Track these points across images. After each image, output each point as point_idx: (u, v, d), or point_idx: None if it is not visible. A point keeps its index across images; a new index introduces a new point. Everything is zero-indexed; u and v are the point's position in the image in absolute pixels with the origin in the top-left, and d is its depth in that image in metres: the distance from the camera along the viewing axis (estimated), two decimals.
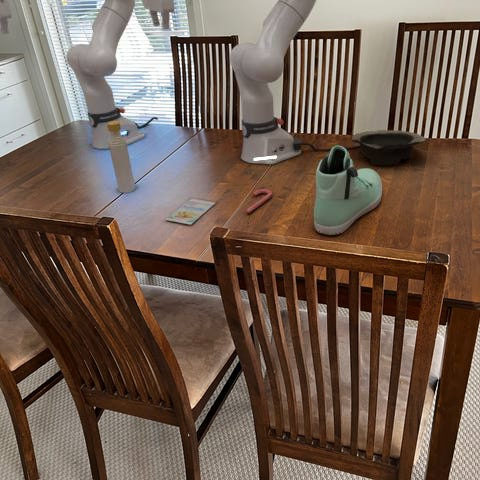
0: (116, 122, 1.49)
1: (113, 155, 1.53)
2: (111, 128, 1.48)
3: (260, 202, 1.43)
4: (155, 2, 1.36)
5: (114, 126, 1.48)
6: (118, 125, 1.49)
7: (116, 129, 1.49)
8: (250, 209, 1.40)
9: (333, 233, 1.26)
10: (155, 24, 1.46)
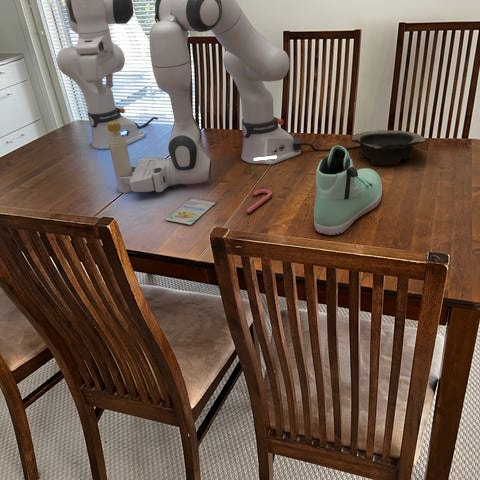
0: (116, 122, 1.50)
1: (113, 155, 1.53)
2: (111, 128, 1.49)
3: (260, 202, 1.43)
4: None
5: (114, 126, 1.48)
6: (118, 125, 1.49)
7: (116, 129, 1.49)
8: (250, 209, 1.40)
9: (333, 233, 1.26)
10: None
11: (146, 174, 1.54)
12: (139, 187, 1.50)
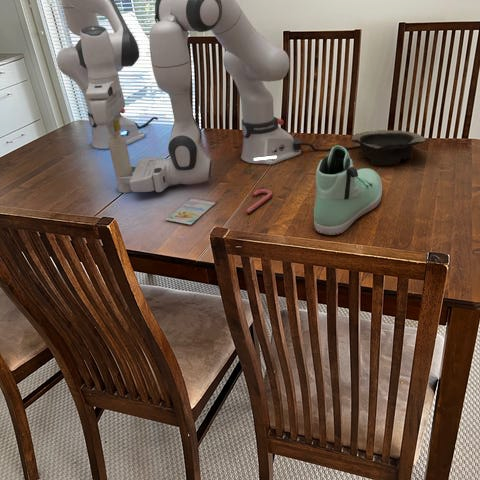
0: (116, 122, 1.50)
1: (113, 155, 1.53)
2: None
3: (260, 202, 1.43)
4: None
5: (114, 126, 1.48)
6: (118, 125, 1.49)
7: (116, 129, 1.49)
8: (250, 209, 1.40)
9: (333, 233, 1.26)
10: None
11: (146, 174, 1.54)
12: (139, 187, 1.50)
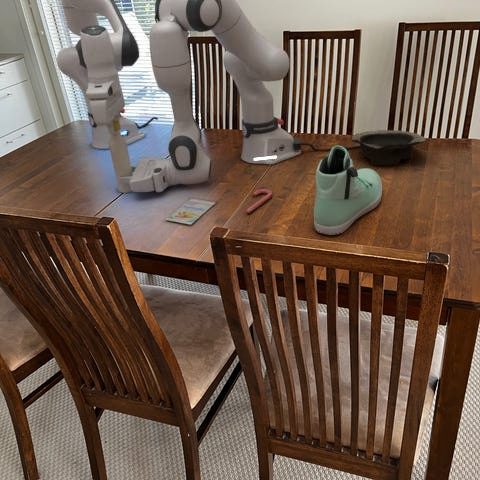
0: (113, 121, 1.50)
1: (113, 155, 1.53)
2: (119, 125, 1.50)
3: (260, 202, 1.43)
4: None
5: None
6: None
7: None
8: (250, 209, 1.40)
9: (333, 233, 1.26)
10: None
11: (146, 174, 1.54)
12: (139, 187, 1.50)
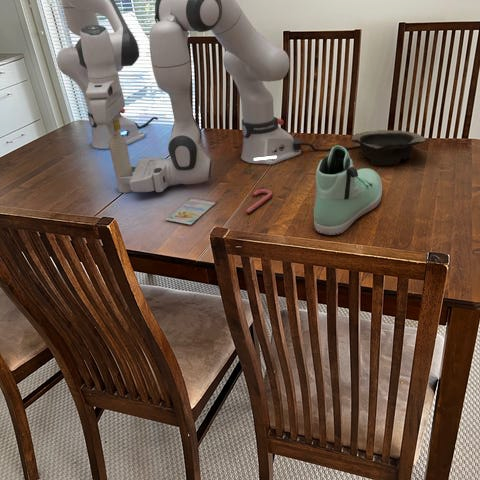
0: None
1: (113, 155, 1.53)
2: None
3: (260, 202, 1.43)
4: None
5: None
6: None
7: None
8: (250, 209, 1.40)
9: (333, 233, 1.26)
10: None
11: (146, 174, 1.54)
12: (139, 187, 1.50)
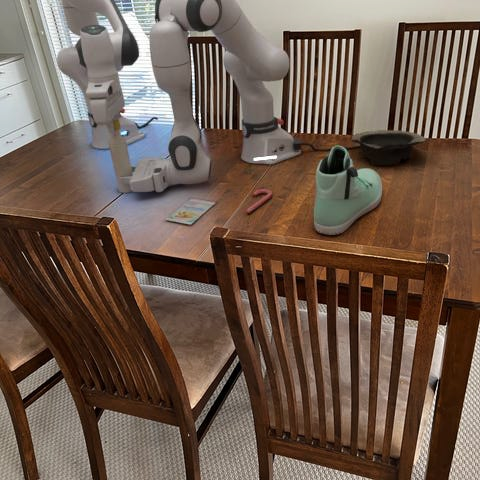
0: (113, 122, 1.49)
1: (113, 155, 1.53)
2: None
3: (260, 202, 1.43)
4: None
5: None
6: None
7: None
8: (250, 209, 1.40)
9: (333, 233, 1.26)
10: None
11: (146, 174, 1.54)
12: (139, 187, 1.50)
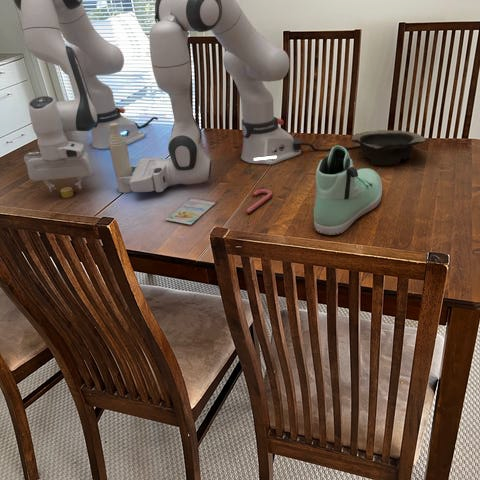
0: (69, 188, 1.60)
1: (113, 155, 1.53)
2: (66, 194, 1.58)
3: (260, 202, 1.43)
4: None
5: (69, 192, 1.58)
6: (72, 190, 1.60)
7: (71, 194, 1.59)
8: (250, 209, 1.40)
9: (333, 233, 1.26)
10: None
11: (146, 174, 1.54)
12: (139, 187, 1.50)
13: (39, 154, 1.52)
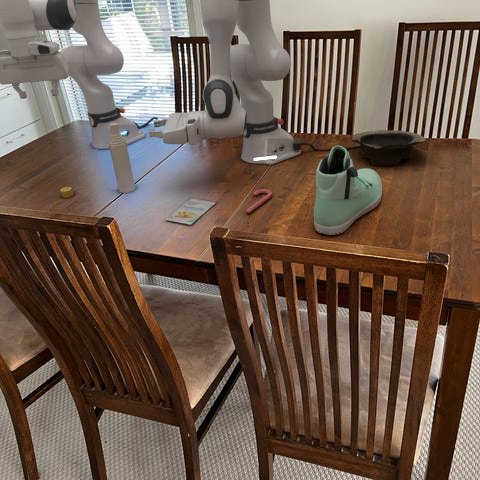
0: (69, 188, 1.60)
1: (113, 155, 1.53)
2: (66, 194, 1.58)
3: (260, 202, 1.43)
4: None
5: (69, 192, 1.58)
6: (72, 190, 1.60)
7: (71, 194, 1.59)
8: (250, 209, 1.40)
9: (333, 233, 1.26)
10: None
11: (179, 126, 1.46)
12: (172, 139, 1.42)
13: (8, 52, 1.36)
